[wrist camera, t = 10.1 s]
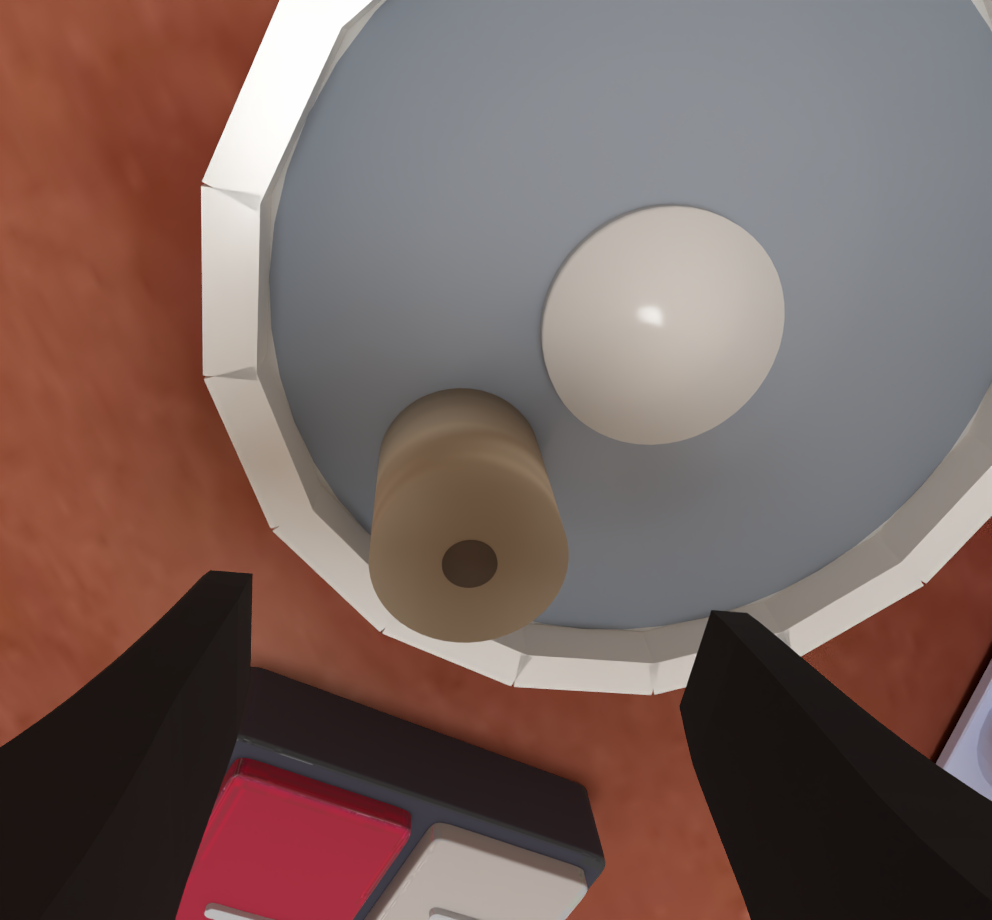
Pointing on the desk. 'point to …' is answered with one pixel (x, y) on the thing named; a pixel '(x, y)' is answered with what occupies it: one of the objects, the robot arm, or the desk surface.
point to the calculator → (382, 822)
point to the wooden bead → (464, 519)
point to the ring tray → (622, 297)
